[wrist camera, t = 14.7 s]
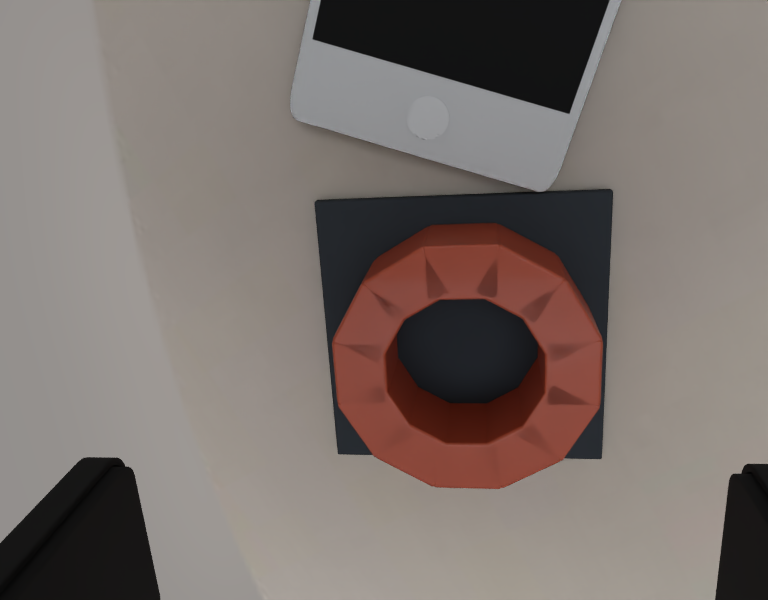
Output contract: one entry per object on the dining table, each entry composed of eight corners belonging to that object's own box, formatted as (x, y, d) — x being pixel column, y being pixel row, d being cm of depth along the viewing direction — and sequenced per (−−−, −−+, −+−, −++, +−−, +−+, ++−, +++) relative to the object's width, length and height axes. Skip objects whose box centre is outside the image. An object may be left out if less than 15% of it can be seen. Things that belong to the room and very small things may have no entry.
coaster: (339, 449, 22) (337, 454, 22) (316, 199, 20) (314, 201, 19) (600, 454, 21) (602, 459, 21) (611, 188, 18) (613, 190, 18)
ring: (358, 441, 22) (344, 486, 19) (341, 226, 19) (322, 248, 17) (584, 445, 21) (597, 492, 18) (592, 219, 18) (607, 241, 16)
